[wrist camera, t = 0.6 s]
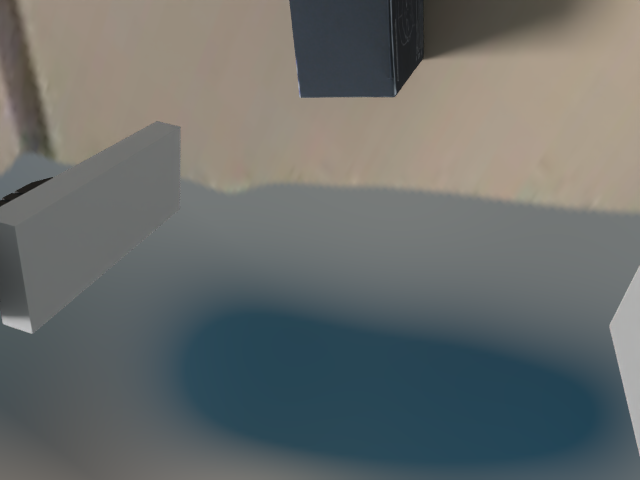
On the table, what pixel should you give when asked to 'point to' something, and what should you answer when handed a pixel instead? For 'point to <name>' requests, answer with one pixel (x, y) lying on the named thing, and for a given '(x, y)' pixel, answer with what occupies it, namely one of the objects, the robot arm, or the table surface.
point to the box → (356, 46)
